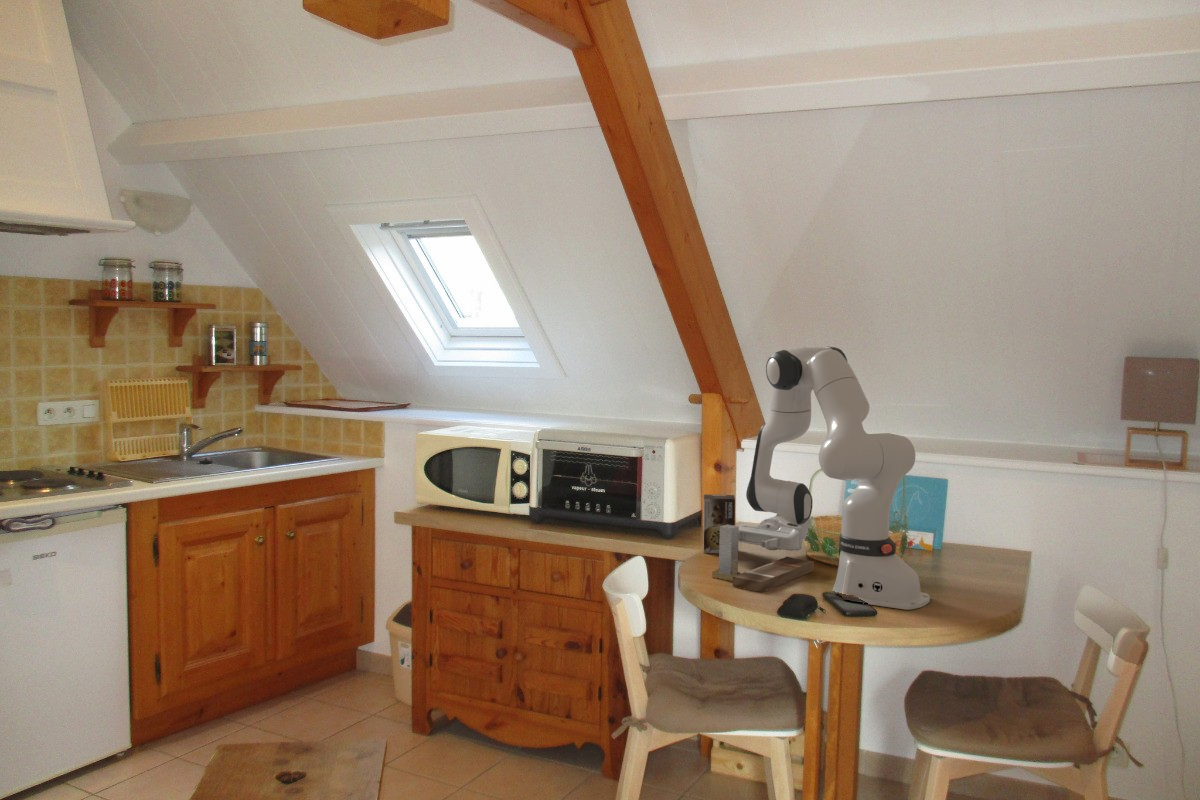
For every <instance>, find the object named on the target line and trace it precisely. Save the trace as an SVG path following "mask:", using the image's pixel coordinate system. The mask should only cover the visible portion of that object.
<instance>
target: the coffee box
mask: <svg viewBox="0 0 1200 800" xmlns="http://www.w3.org/2000/svg"><path fill="white" fill-rule="evenodd" d="M702 512H703V519H702V520H703V521H702V524H703V526H702V528H703V530H702V531H703V532H702V533H703V534H702V536H703V537H702V552H703V554H719V542H720V526H723V525H733V526H734V525H736V496H735V495H734V494H703V511H702Z"/></svg>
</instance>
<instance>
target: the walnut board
mask: <svg viewBox="0 0 1200 800" xmlns="http://www.w3.org/2000/svg"><path fill="white" fill-rule="evenodd" d="M814 571H815V561H814V560H807V559H802V558H797V557H790V556H786V557H782V558H780V559H777V560H773V561H771V562H769V563H765V564H763V565H760V566H758V567H755V568H753V569H750V570H746V571H743V572H740V573H741V574H738V575H736V576H733V582H732V587H733V586H735V587H734V588H738V587H740V588H739V589H743V588H745V589H744V590H747V589H749V590H748V591H752V590H754V592H757V591H759V592H758V593H763V592H765V590H766V591H768V590H770V588H771V589H773V588H775V587H778V586H780V585H782V584H785V583H787V582H790V581H792V580H795V579H797V578H799V577H802V576H804V575H807V574H810V573H811V572H814ZM767 589H768V590H767ZM762 591H763V592H762Z"/></svg>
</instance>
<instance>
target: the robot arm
mask: <svg viewBox="0 0 1200 800" xmlns="http://www.w3.org/2000/svg"><path fill="white" fill-rule="evenodd" d="M765 373H766V375H765V376H766V379H767V381H768V383H769V384H770V385H771V387H772V388H771V393H770V412H769V417H768V420H767V421H766V422H765V423H763V424H762V425H761V427H760V429H759V431H758V434H757V437H756V438H757V439H756V444H755V449H754V455H753V461H752V466H751V474H750V478H749V482H748V484H747V488H746V492H745V497H746V500H747V503H748V504H749V506H750V507H751V508H752V510H754V511H756V512H765V513H773V514H776V515H775V516H772V517H769V518H765V519H763V520H761V522H759V524H758V526H757V525H749V524H735V525H734V526H739V540H738V543H743V544H750V545H755V546H761V547H762V548H764V549H766V550H768V551H777V550H779V551H780V550H783V551H789V552H790V551H800V550H802V547H803V540H805V539H806V538H807V537H808V535H807V533H808V528H809V526H810V524H811V523H812V519H811V514H812V511H813V497H812V494H811V491H810V489H809V488H808V487H807V485H805V484H804V483H803V482H802V483H801V482H797V481H790V480H783V479H777V478H774V477H772V476H771V466H772V461H773V454H774V450H775V448H776V446H778V445H780V444H784V443H786V442H787V443H788V442H791V441H794V440H796V439H799V438H801V437H802V436H804V434H806V432H807V431H808V430H809V428H810V426H811V421H812V391H813V394H814V395H815V397H816V400H817V403H818V405H819V407H820V409H821V412H822V414H823V417H824V420H825V423H826V428H827V429H826V431H827V432H826V433H827V434H826V438H825V441H824V442H823V443H822V445H821V446H820V448H819V451H818V462H819V466H820V468H821V470H822V472H823V473H824V474H825V475H826V477H828V478H831V479H834V480H835V479H836V480H840V481H841V480H842V481H845V482H846V481H847V482H850V481H858V483H857V485H856V487H855V489H854V491H853V492H851V494H850V495H848V497H846V498H845V499H844V501H843V502H842V506H841V533H839V537H838V538H839V539H838V556H839V562H838V567H837V573H836V578H835V582H834V585H833V587H832V592H833V591H835V592H839V593H842V594H846V595H854V596H856V597H858V598H859V599H861V600H863V601H865V602H867V603H868V604H867V605H871V606H872V605H873V606H878V607H879V606H880V607H884V608H885V607H886V608H891V609H893V608H894V609H898V610H899V609H900V610H906V611H908V610H916V609H919V608H922V607H925V606H926V605H928V604H929V603H930V602H931V597H930V595H929V593H926V592H922V591H921V582H920V578H919V575H918V573H917V572H916V571H915V570H914V569H913V568H912V567H910V565H908V564H907V563H906V562H905V561H904V560H903V559H902V558H900V557H899V555H897V552H896V551H897V550H896V549H897V547H898V546H899V541H894V540H892V538H891V537H890V536H889V534H890V533H889V530H890V517H891V507H892V502H893V499H894V496H895V493H896V491H897V488H898V487H899V484H900V483H901V481H902V480H903V479H904V477H905V476H906V475H907V474H908V473H909V472H910V471H911V470H912V469H913V467H914V465H915V462H916V456H917V455H916V451H915V446H914V445H913V443H912V441H911V440H910V439H909V438H908V437H906V436H905V435H899V434H895V433H891V432H883V433H882V432H881V433H868V432H866V431H865V429H864V426H863V422H864V421H865V419H866V418H867V417H868V415H869V412H870V404H869V401H868V399H867V396H866V394H865V392H864V390H863V388H862V386H861V384H860V382H859V380H858V377H857V376H856V373H855V372H854V370H853V368H852V367H851V365H850V363H849V361H848V358H847V356H846V354H845V353H844V351H843V350H842V349H840V348H838V347H835V346H823V347H819V346H817V347H816V346H815V347H813V346H812V347H811V346H810V347H807V346H806V347H805V346H803V347H798V348H797V347H796V348H791V349H787V350H786V349H782V350H779V351H775V352H773V353H772V354H770V355H769V357H768V359H767V362H766V365H765ZM806 536H807V537H806Z"/></svg>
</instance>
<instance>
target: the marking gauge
mask: <svg viewBox="0 0 1200 800" xmlns="http://www.w3.org/2000/svg"><path fill="white" fill-rule="evenodd" d="M738 540H739V526H733V525H723V526H720V542H719V553H718V569H717V570H714V571H712V574H711V577H715V578H714V579H717V578H719V580H722V579H723V580H724V581H727V580H729V581H728V582H732V581H733V576H736V575H738V574H741V573H742V572H739V571H738V570H739V542H738ZM723 580H722V581H723Z"/></svg>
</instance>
